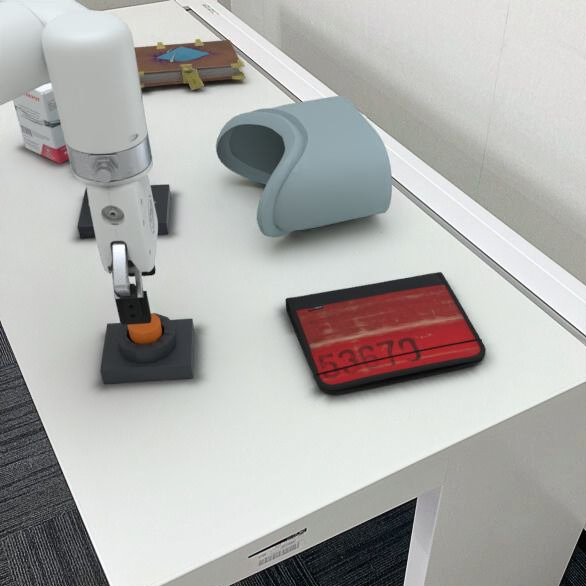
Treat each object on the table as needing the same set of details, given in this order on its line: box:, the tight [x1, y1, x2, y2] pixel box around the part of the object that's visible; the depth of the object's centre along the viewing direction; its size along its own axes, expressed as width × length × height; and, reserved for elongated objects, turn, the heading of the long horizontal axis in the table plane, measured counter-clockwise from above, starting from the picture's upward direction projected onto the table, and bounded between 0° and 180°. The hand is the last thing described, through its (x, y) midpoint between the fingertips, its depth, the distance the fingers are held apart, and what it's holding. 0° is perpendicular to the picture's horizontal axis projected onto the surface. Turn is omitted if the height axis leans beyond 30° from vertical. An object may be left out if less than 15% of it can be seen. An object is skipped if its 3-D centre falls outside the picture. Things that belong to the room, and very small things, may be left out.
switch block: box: [99, 312, 195, 385], centre depth 92 cm, size 10×8×4 cm
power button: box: [128, 312, 162, 344], centre depth 90 cm, size 4×4×2 cm
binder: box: [284, 271, 487, 395], centre depth 96 cm, size 16×2×21 cm
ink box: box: [12, 83, 70, 164], centre depth 123 cm, size 8×5×12 cm, turn 55°
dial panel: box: [76, 183, 172, 239], centre depth 113 cm, size 12×10×2 cm
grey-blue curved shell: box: [215, 95, 393, 239], centre depth 113 cm, size 22×19×13 cm
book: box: [134, 38, 246, 91], centre depth 147 cm, size 16×25×5 cm, turn 105°
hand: (138, 296), depth 87 cm, fingers open, 7 cm apart
